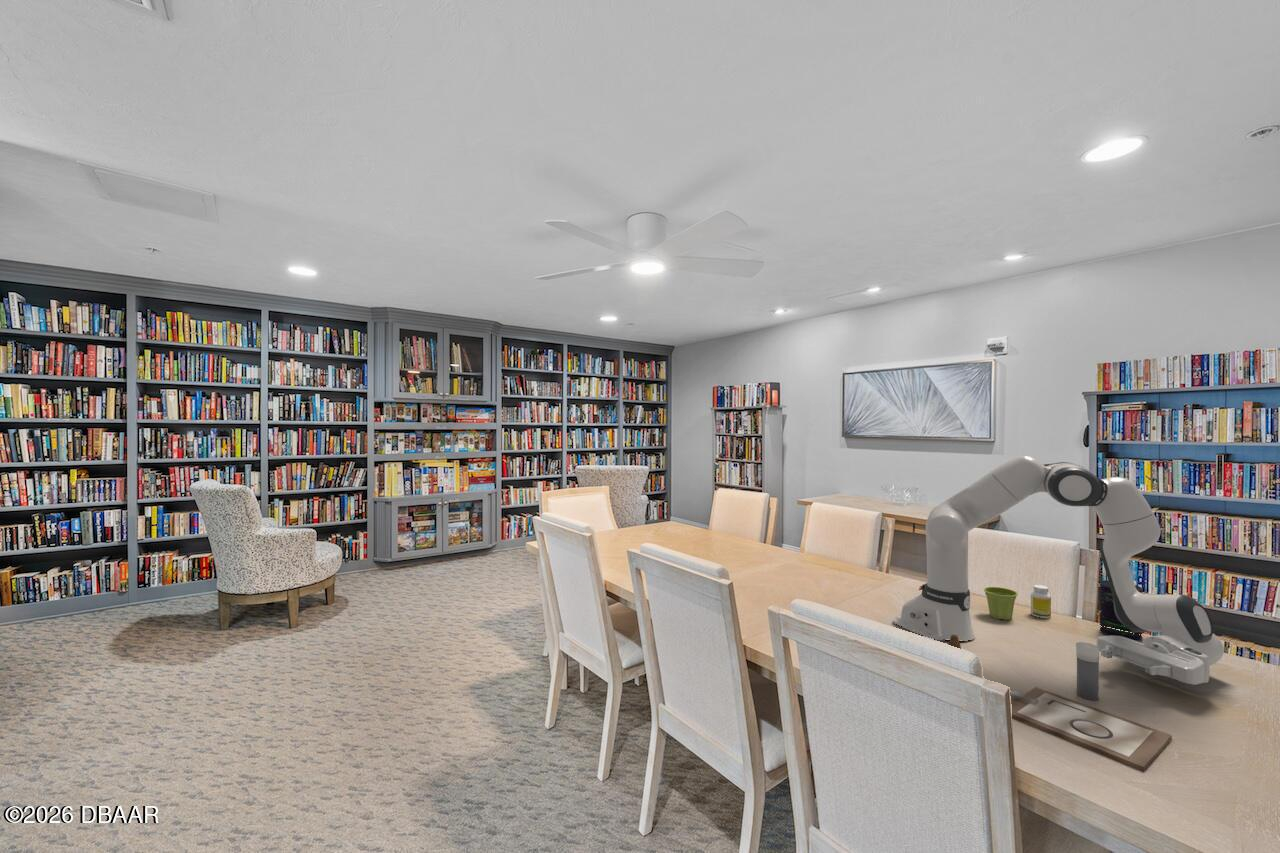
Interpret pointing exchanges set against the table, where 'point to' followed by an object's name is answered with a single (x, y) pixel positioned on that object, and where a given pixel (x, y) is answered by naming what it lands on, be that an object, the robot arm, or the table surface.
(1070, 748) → the table surface
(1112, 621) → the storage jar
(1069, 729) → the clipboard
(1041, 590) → the supplement bottle
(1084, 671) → the marker
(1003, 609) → the plant pot
